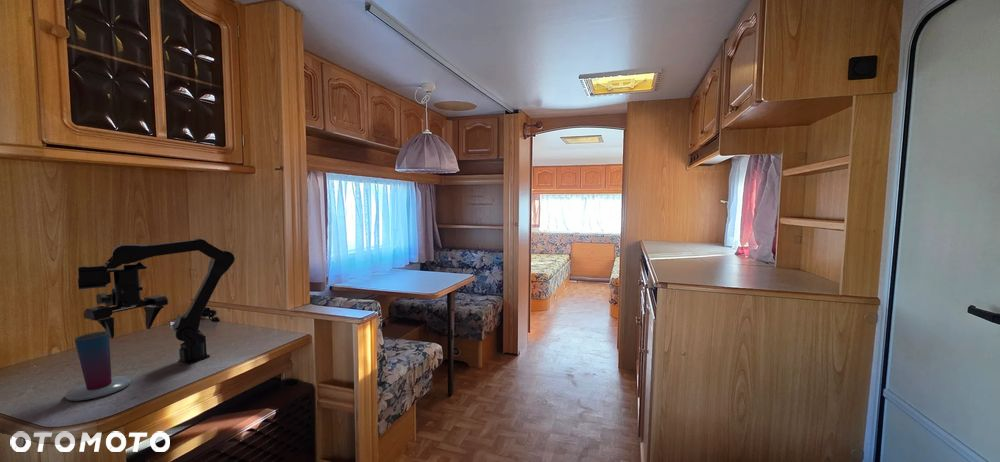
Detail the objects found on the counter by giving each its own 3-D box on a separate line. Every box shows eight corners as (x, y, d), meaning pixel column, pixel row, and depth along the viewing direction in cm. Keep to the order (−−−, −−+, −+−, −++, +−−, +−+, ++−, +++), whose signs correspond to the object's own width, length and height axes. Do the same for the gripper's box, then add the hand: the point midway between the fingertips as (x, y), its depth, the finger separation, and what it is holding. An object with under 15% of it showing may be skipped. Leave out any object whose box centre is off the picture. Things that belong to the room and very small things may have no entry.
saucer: (115, 377, 119) (114, 373, 119) (141, 383, 115) (140, 379, 115) (55, 397, 107) (55, 393, 107) (82, 405, 103) (81, 401, 103)
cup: (119, 377, 116) (112, 329, 114) (111, 387, 110) (103, 336, 108) (88, 384, 112) (80, 334, 111) (77, 394, 106) (69, 341, 105)
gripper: (146, 277, 131) (149, 322, 132) (71, 288, 113) (75, 340, 114) (168, 279, 127) (170, 325, 128) (93, 291, 110) (97, 345, 111)
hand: (130, 333), depth 121 cm, fingers open, 9 cm apart
